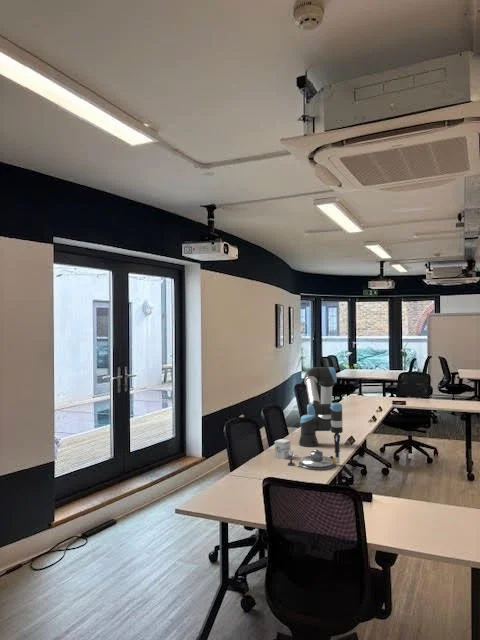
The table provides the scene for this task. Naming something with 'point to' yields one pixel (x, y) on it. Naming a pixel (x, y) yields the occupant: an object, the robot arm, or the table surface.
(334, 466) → the base
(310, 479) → the table surface
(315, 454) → the cover
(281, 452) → the ink box
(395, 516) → the table surface
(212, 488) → the table surface
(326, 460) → the turntable
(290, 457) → the dial post
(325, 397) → the robot arm
